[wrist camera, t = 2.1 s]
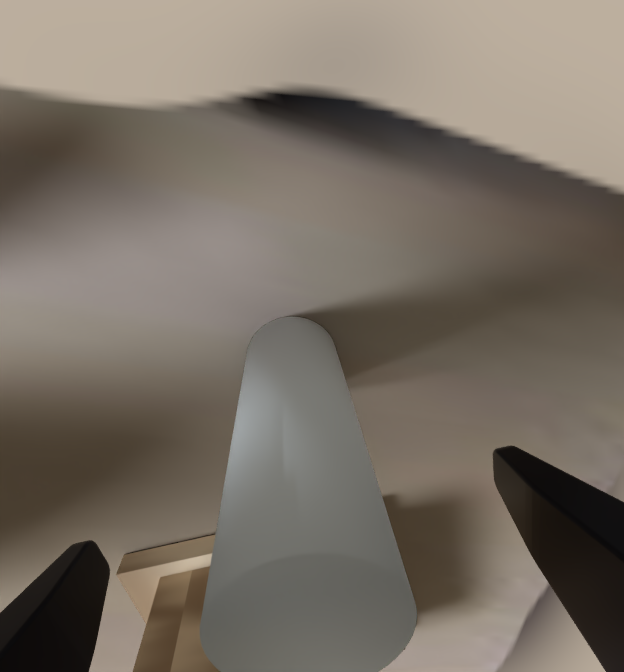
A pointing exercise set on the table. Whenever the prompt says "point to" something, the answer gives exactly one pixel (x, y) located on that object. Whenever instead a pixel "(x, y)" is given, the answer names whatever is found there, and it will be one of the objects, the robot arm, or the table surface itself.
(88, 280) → the table surface
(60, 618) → the robot arm
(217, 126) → the table surface
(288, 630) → the peg
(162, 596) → the bottle holder
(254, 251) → the table surface
